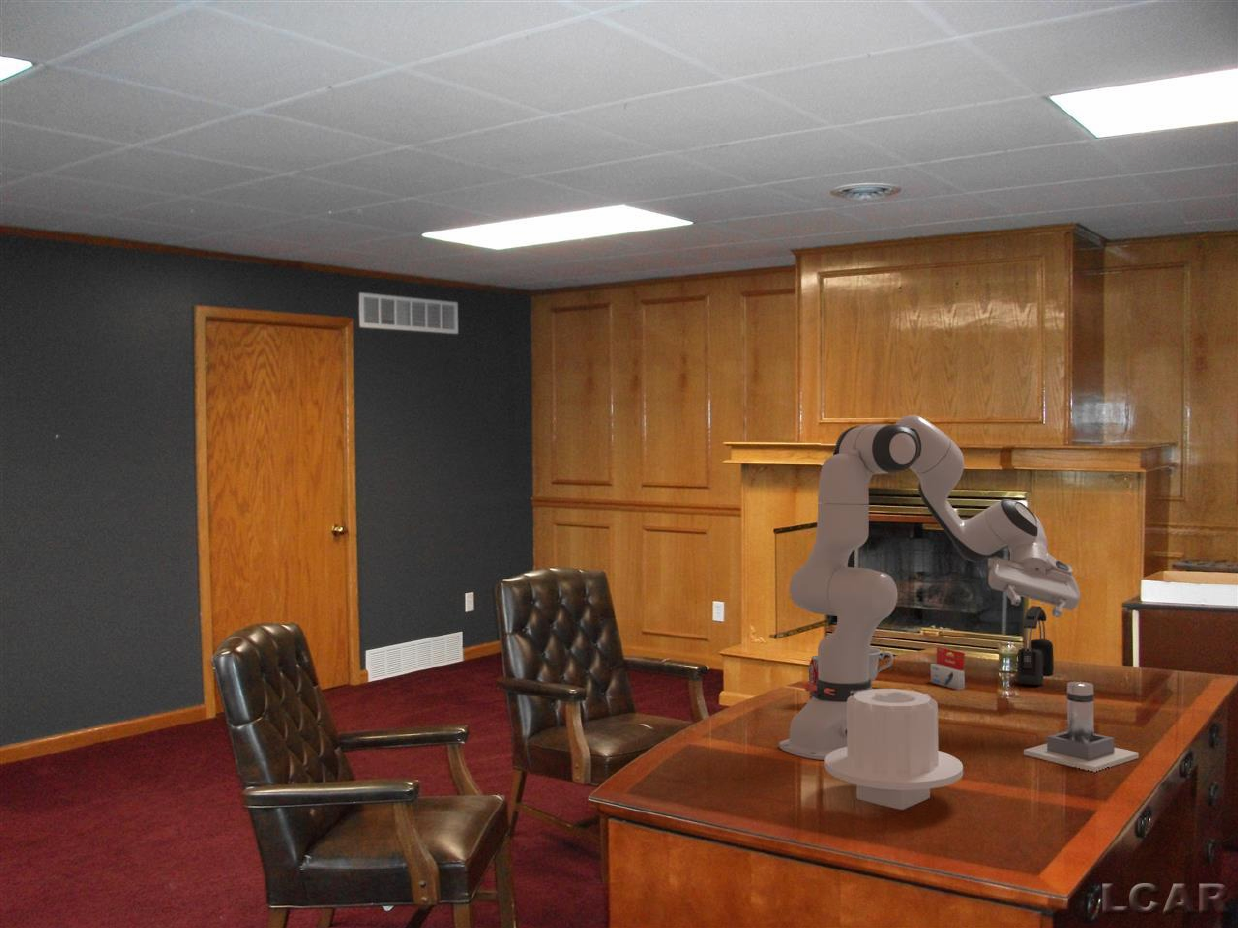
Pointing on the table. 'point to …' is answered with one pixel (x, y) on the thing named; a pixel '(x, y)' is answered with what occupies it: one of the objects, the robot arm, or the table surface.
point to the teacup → (874, 661)
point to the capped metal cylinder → (1080, 711)
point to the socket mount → (1082, 752)
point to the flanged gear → (893, 748)
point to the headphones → (1035, 651)
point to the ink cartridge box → (949, 669)
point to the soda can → (813, 672)
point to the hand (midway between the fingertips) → (1037, 609)
